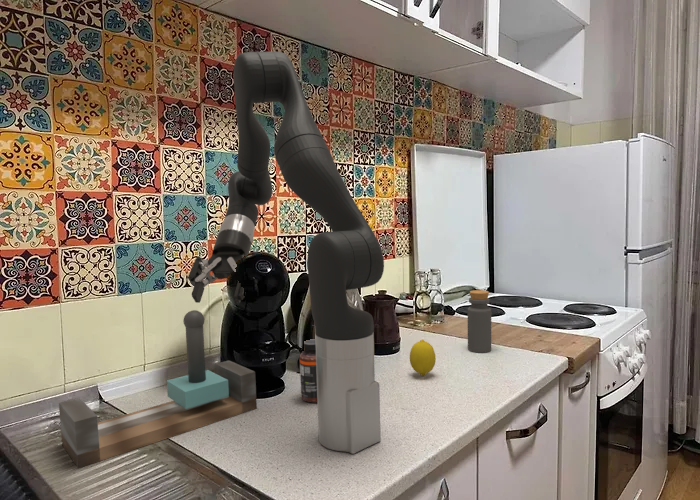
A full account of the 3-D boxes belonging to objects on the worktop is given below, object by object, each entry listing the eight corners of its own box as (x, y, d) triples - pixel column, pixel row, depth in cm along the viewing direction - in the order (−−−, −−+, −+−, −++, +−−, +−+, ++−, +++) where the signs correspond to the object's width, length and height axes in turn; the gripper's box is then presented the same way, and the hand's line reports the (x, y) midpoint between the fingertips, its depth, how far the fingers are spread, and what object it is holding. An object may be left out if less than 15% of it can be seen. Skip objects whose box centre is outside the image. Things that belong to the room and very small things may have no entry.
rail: (230, 394, 99) (228, 360, 98) (256, 408, 91) (255, 371, 91) (62, 445, 79) (58, 402, 78) (78, 468, 71) (74, 422, 71)
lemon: (434, 371, 109) (434, 336, 108) (436, 380, 103) (436, 343, 103) (409, 371, 109) (409, 336, 109) (410, 380, 104) (409, 343, 103)
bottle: (463, 348, 126) (462, 291, 125) (481, 345, 128) (480, 288, 127) (477, 354, 121) (477, 294, 119) (496, 350, 123) (496, 292, 122)
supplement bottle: (331, 391, 99) (329, 336, 98) (332, 403, 93) (330, 344, 92) (301, 392, 98) (299, 337, 97) (300, 404, 92) (298, 346, 91)
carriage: (208, 385, 94) (204, 304, 93) (228, 396, 88) (224, 310, 87) (167, 396, 89) (162, 311, 87) (186, 409, 83) (181, 317, 82)
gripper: (198, 228, 106) (175, 289, 95) (261, 227, 104) (245, 289, 94) (209, 250, 111) (189, 310, 101) (270, 249, 110) (255, 311, 99)
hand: (216, 300), depth 97 cm, fingers open, 8 cm apart
